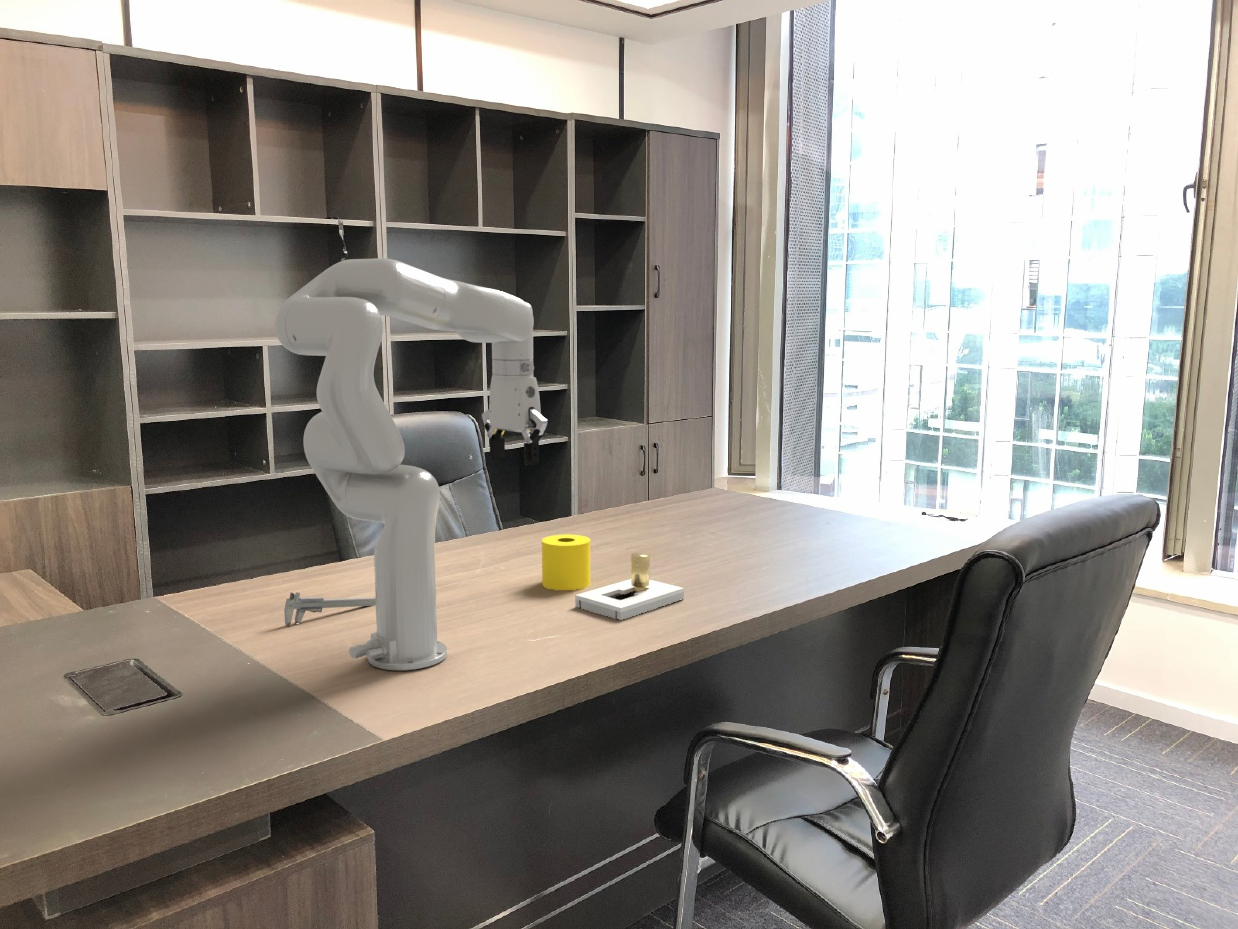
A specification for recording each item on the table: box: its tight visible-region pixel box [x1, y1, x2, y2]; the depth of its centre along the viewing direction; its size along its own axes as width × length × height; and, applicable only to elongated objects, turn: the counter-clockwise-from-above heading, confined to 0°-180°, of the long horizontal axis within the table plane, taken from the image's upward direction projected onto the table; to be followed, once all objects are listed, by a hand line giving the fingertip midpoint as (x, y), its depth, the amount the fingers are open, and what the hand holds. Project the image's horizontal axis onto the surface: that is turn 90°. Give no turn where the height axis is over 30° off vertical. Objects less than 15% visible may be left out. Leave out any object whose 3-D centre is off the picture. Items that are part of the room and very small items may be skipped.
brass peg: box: [629, 552, 651, 597], centre depth 185 cm, size 4×4×9 cm
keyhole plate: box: [574, 578, 685, 621], centre depth 184 cm, size 18×12×2 cm, turn 137°
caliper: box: [283, 591, 376, 626], centre depth 177 cm, size 20×1×6 cm, turn 138°
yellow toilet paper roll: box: [541, 534, 591, 591], centre depth 197 cm, size 10×10×9 cm
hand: (514, 461), depth 177 cm, fingers open, 9 cm apart
